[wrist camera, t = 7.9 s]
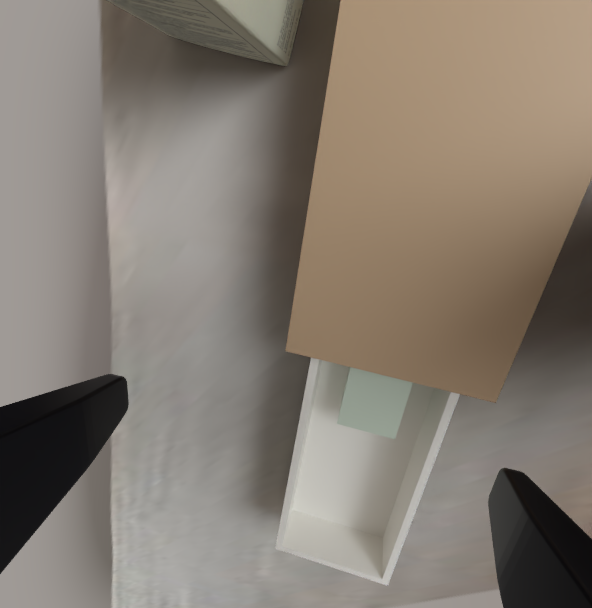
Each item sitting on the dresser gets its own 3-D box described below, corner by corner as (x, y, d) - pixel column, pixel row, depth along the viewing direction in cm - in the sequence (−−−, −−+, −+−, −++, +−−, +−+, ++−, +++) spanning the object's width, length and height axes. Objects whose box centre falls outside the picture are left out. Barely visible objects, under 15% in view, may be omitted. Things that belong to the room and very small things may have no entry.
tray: (465, 316, 18) (479, 343, 16) (387, 538, 24) (387, 585, 22) (329, 287, 19) (320, 307, 17) (287, 507, 26) (274, 548, 23)
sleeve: (618, -34, 13) (717, -118, 9) (473, 353, 20) (495, 403, 16) (368, -54, 15) (361, -133, 11) (304, 314, 21) (285, 351, 17)
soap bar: (418, 338, 19) (421, 354, 17) (394, 417, 21) (394, 439, 19) (359, 324, 19) (357, 339, 18) (340, 403, 21) (337, 423, 20)
